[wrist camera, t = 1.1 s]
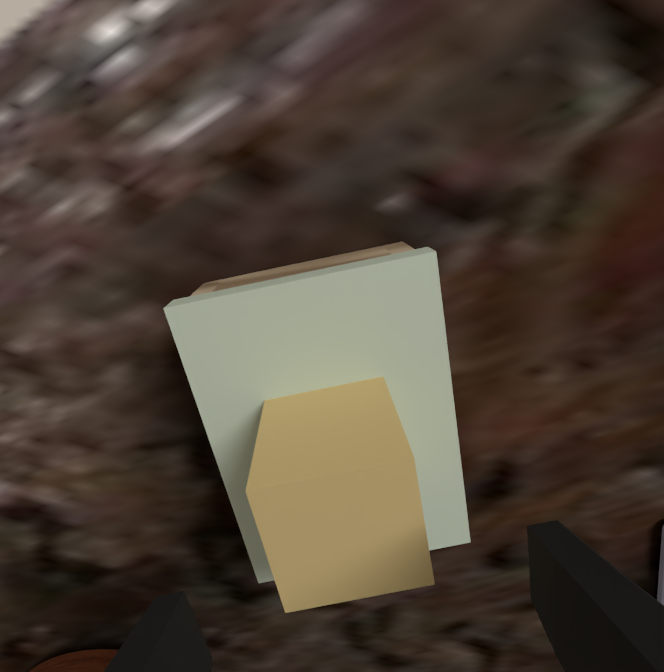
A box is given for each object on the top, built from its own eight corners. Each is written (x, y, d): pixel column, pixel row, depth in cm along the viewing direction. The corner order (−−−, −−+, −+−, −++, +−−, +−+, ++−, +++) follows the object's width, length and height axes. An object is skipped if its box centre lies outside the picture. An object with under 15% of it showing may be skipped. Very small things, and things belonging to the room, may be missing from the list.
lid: (458, 514, 18) (524, 663, 13) (262, 552, 18) (241, 716, 13) (423, 244, 14) (496, 284, 9) (177, 296, 15) (93, 368, 9)
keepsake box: (435, 471, 21) (456, 520, 18) (271, 503, 21) (264, 557, 18) (402, 241, 17) (422, 254, 14) (203, 282, 17) (180, 304, 14)
